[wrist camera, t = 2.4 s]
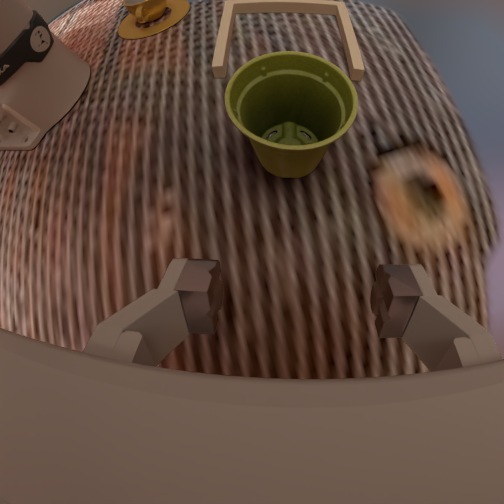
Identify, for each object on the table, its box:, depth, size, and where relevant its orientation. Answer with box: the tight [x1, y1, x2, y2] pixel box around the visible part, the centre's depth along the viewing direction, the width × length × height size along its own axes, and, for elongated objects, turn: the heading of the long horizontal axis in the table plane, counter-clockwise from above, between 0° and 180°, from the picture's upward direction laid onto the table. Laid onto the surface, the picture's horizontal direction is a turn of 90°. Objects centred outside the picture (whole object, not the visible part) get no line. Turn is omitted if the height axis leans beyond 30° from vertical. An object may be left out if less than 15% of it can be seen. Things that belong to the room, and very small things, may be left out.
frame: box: [212, 0, 364, 81], centre depth 29 cm, size 16×15×2 cm
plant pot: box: [225, 51, 358, 178], centre depth 23 cm, size 9×9×9 cm
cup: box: [118, 0, 190, 39], centre depth 32 cm, size 12×12×5 cm
